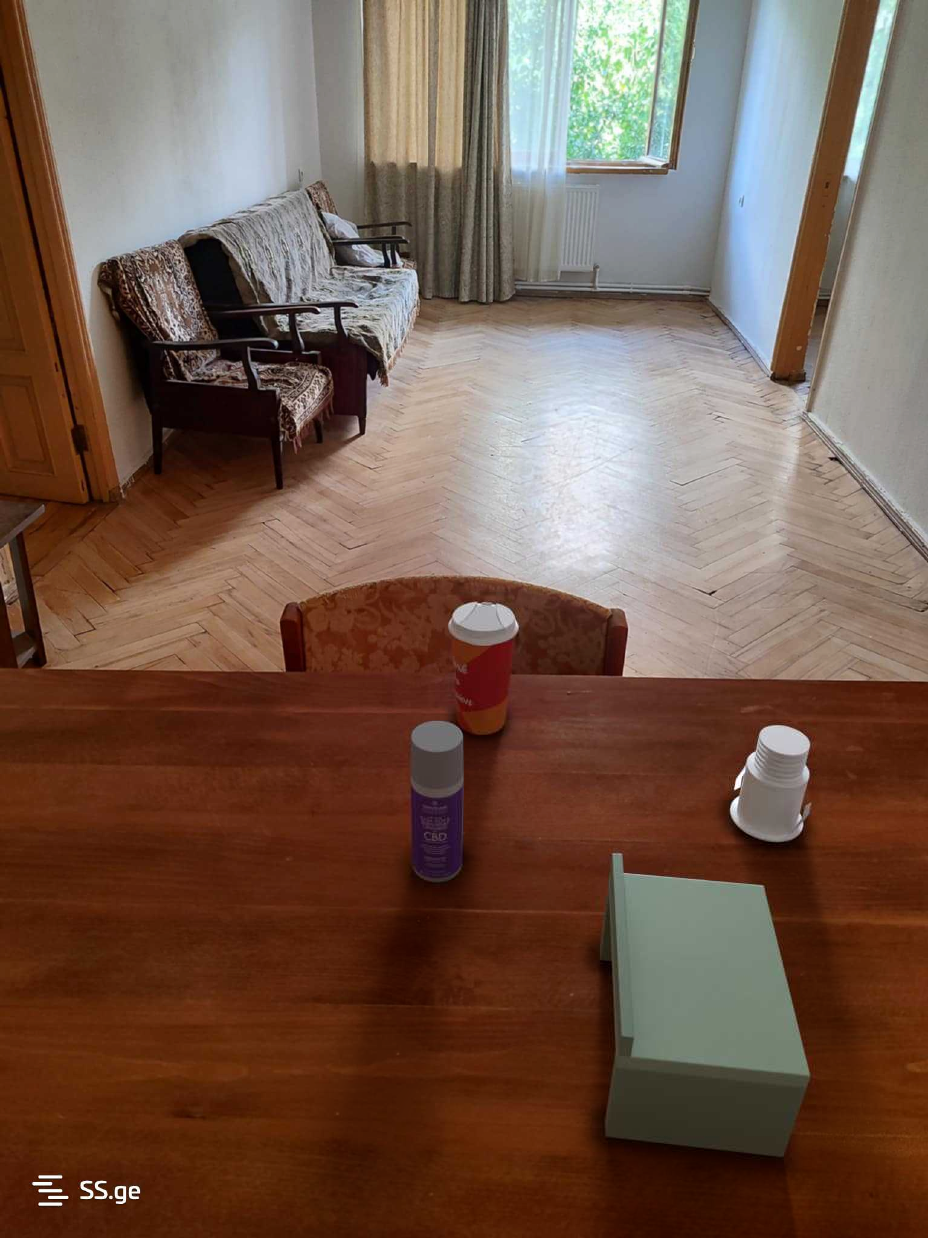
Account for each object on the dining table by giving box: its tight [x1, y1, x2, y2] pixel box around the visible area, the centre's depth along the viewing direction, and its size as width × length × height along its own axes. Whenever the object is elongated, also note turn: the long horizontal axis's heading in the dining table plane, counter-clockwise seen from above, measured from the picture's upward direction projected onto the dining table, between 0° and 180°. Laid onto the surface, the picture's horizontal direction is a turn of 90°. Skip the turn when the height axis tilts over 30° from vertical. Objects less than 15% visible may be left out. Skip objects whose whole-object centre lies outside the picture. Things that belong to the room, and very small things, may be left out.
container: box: [410, 720, 464, 883], centre depth 79 cm, size 5×5×15 cm
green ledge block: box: [599, 853, 811, 1158], centre depth 65 cm, size 12×16×11 cm
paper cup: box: [447, 601, 519, 736], centre depth 99 cm, size 8×8×14 cm
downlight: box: [729, 724, 812, 843], centre depth 86 cm, size 8×7×10 cm
